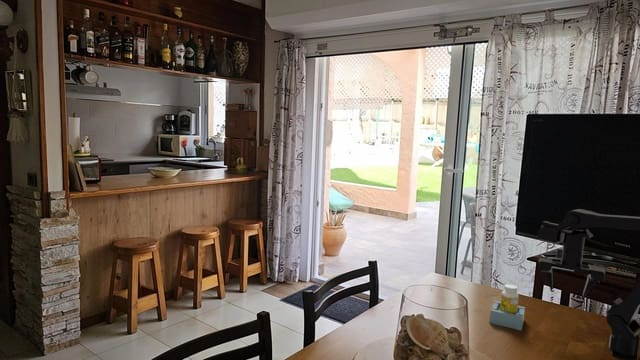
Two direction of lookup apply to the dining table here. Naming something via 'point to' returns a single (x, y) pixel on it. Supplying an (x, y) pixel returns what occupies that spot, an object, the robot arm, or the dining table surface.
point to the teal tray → (507, 317)
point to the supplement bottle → (509, 299)
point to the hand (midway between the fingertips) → (567, 294)
